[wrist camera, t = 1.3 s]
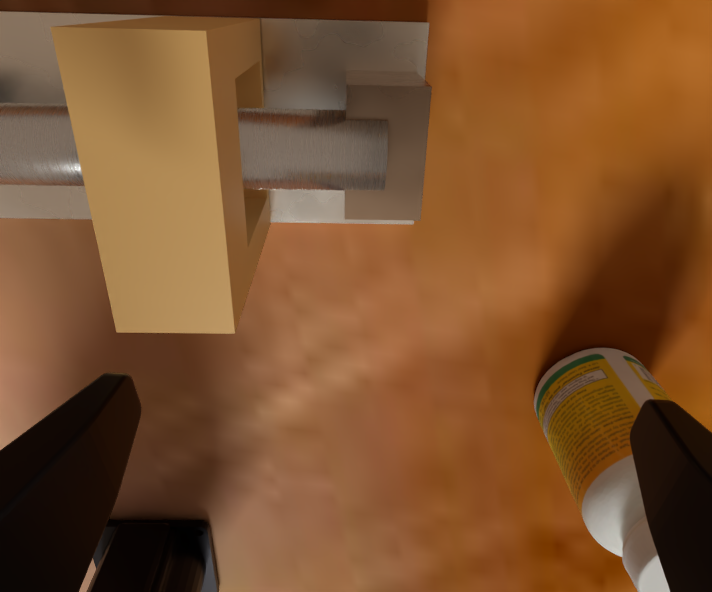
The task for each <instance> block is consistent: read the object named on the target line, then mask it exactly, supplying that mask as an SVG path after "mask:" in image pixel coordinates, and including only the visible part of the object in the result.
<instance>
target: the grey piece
mask: <svg viewBox="0 0 712 592" xmlns="http://www.w3.org/2000/svg"><path fill="white" fill-rule="evenodd" d="M161 16H174V15H136V14H98V13H60V12H22V11H0V218H35V219H92V217H91V212H90V208H89V203H88V199H87V194H86V189H85V185H84V180H83V175H82V171H81V166H80V162H79V157H78V152H77V148H76V143H75V139H74V134H73V129H72V125H71V120H70V116H69V111H68V106H67V102H66V97H65V92H64V88H63V83H62V79H61V74H60V69H59V65H58V60H57V56H56V51H55V46H54V42H53V37H52V33H51V28H50V27H54V26H65V25H76V24H86V23H97V22H108V21H118V20H129V19H140V18H150V17H161ZM181 17H212V16H181ZM219 18H250V17H219ZM257 19H260V37H261V55H262V74H263V93H264V108H237V113H238V126H239V139H240V152H241V165H242V179H243V189H269V205H270V222H296V223H361V224H414V221H420V219H421V207H422V195H423V183H424V171H425V159H426V148H427V136H428V124H429V112H430V100H431V88H432V87H431V86H430V85H429V84H428V83H427V82H426V81H425V71H426V58H427V46H428V33H429V23H428V22H403V21H365V20H327V19H289V18H257Z"/></svg>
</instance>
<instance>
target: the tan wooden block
mask: <svg viewBox="0 0 712 592" xmlns="http://www.w3.org/2000/svg"><path fill="white" fill-rule="evenodd" d="M50 28H51V33H52V37H53V42H54V46H55V51H56V56H57V60H58V65H59V69H60V74H61V79H62V83H63V88H64V92H65V97H66V102H67V106H68V111H69V116H70V120H71V125H72V129H73V134H74V139H75V143H76V148H77V152H78V157H79V162H80V166H81V171H82V175H83V180H84V185H85V189H86V194H87V199H88V203H89V208H90V212H91V217H92V222H93V226H94V231H95V235H96V240H97V245H98V249H99V254H100V258H101V263H102V268H103V272H104V277H105V282H106V286H107V291H108V295H109V300H110V305H111V309H112V314H113V318H114V323H115V328H116V332H117V333H223V334H235V332H236V329H237V326H238V323H239V320H240V316H241V313H242V310H243V307H244V304H245V301H246V298H247V295H248V292H249V289H250V286H251V283H252V279H253V276H254V273H255V270H256V267H257V264H258V261H259V258H260V255H261V252H262V249H263V246H264V242H265V239H266V236H267V233H268V230H269V227H270V205H269V189H243V179H242V165H241V152H240V139H239V126H238V113H237V108H264V93H263V74H262V55H261V37H260V19H257V18H219V17H181V16H161V17H150V18H140V19H129V20H118V21H108V22H97V23H86V24H76V25H65V26H54V27H50Z"/></svg>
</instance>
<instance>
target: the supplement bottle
mask: <svg viewBox="0 0 712 592" xmlns="http://www.w3.org/2000/svg"><path fill="white" fill-rule="evenodd" d="M648 399H660V400H671V398H670V397H669V396H668V395H667V393H666V392H665V391H664V390H663V388H662V387H661V386H660V385H659V383H658V382H657V381H656V380H655V379H654V377H653V376H652V375H651V374H650V373H649V371H648V370H647V369H646V368H645V367H644V366H643V364H642V363H641V362H640V361H639V360H637V359H636V358H635V357H634V356H632V355H630V354H628V353H626V352H623V351H621V350H617V349H612V348H592V349H587V350H582V351H580V352H577V353H574V354H572V355H570V356H568V357H566V358H564V359H562V360H560V361H559V362H557V363H556V364H555V365H553V366H552V367H551V368H550V369H549V370H548V371H547V372H546V373H545V375H544V376H543V377H542V379H541V380H540V382H539V384H538V386H537V389H536V393H535V397H534V407H535V411H536V415H537V417H538V420H539V422H540V425H541V427H542V429H543V431H544V433H545V436H546V438H547V440H548V442H549V445H550V447H551V449H552V451H553V453H554V456H555V458H556V460H557V462H558V464H559V467H560V469H561V471H562V473H563V476H564V478H565V480H566V483H567V485H568V487H569V489H570V492H571V494H572V496H573V498H574V500H575V502H576V504H577V507H578V509H579V511H580V513H581V515H582V518H583V520H584V522H585V524H586V526H587V528H588V530H589V532H590V533H591V535H592V536H593V537H594V539H595V540H596V541H597V542H598V543H599V544H600V545H602V546H603V547H604V548H606V549H607V550H609V551H610V552H612V553H614V554H616V555H618V556H621V557H622V559H623V564H624V567H625V569H626V571H627V572H628V574H629V575H630V577H631V579H632V581H633V583H634V585H635V587H636V589H637V590H638V592H670V589H669V587H668V584H667V581H666V578H665V575H664V572H663V569H662V566H661V563H660V560H659V557H658V554H657V551H656V548H655V545H654V542H653V539H652V536H651V533H650V529H649V526H648V522H647V518H646V514H645V510H644V505H643V500H642V496H641V491H640V487H639V482H638V477H637V473H636V468H635V464H634V459H633V454H632V450H631V445H630V431H631V428H632V426H633V423H634V421H635V419H636V417H637V415H638V413H639V411H640V409H641V407H642V405H643V403H644V402H645V401H646V400H648ZM671 401H672V400H671Z"/></svg>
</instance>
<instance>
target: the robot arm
mask: <svg viewBox="0 0 712 592" xmlns="http://www.w3.org/2000/svg"><path fill="white" fill-rule="evenodd" d="M140 416H141V404H140V400H139V397H138V394H137V391H136V388H135V385H134V382H133V380H132V377H131V376H130V375H129V374H126V373H105V374H103V375H101V376H100V377H99V378H97V379H96V380H95V381H93V382H92V383H91V384H89V385H88V386H87V387H85V388H84V389H82V390H81V391H80V392H78V393H77V394H76V395H74V396H73V397H72V398H70V399H69V400H68V401H66V402H65V403H64V404H62V405H61V406H60V407H58V408H57V409H56V410H54V411H53V412H51V413H50V414H49V415H47V416H46V417H45V418H43V419H42V420H41V421H39V422H38V423H37V424H35V425H34V426H33V427H31V428H30V429H29V430H27V431H26V432H25V433H23V434H22V435H20V436H19V437H18V438H16V439H15V440H14V441H12V442H11V443H10V444H8V445H7V446H6V447H4V448H3V449H2V450H0V592H79V590H80V588H81V585H82V583H83V580H84V578H85V575H86V573H87V570H88V568H89V565H90V563H91V561H92V558H93V560H94V563H95V566H96V571H95V573H94V576H93V578H92V580H91V583H90V585H89V587H88V590H87V592H219V585H218V579H217V572H216V565H215V559H214V552H213V546H212V539H211V532H210V526H209V524H208V523H207V522H205V521H201V520H108V519H109V517H110V514H111V512H112V509H113V507H114V504H115V501H116V499H117V496H118V493H119V490H120V487H121V484H122V480H123V477H124V473H125V470H126V466H127V463H128V459H129V455H130V452H131V448H132V445H133V441H134V438H135V434H136V431H137V427H138V424H139V420H140ZM630 445H631V450H632V454H633V459H634V464H635V468H636V473H637V477H638V482H639V487H640V491H641V496H642V500H643V505H644V510H645V514H646V518H647V522H648V526H649V529H650V533H651V536H652V539H653V542H654V545H655V548H656V551H657V554H658V557H659V560H660V563H661V566H662V569H663V572H664V575H665V578H666V581H667V584H668V587H669V589H670V592H712V433H711V432H710V431H709V430H708V429H707V428H705V427H704V426H703V425H702V424H701V423H699V422H698V421H697V420H696V419H695V418H693V417H692V416H691V415H690V414H689V413H687V412H686V411H685V410H684V409H683V408H681V407H680V406H679V405H678V404H676V403H675V402H673V401H671V400H660V399H648V400H646V401H645V402H644V403H643V405H642V407H641V409H640V411H639V413H638V415H637V417H636V419H635V421H634V423H633V426H632V428H631V431H630Z"/></svg>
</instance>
